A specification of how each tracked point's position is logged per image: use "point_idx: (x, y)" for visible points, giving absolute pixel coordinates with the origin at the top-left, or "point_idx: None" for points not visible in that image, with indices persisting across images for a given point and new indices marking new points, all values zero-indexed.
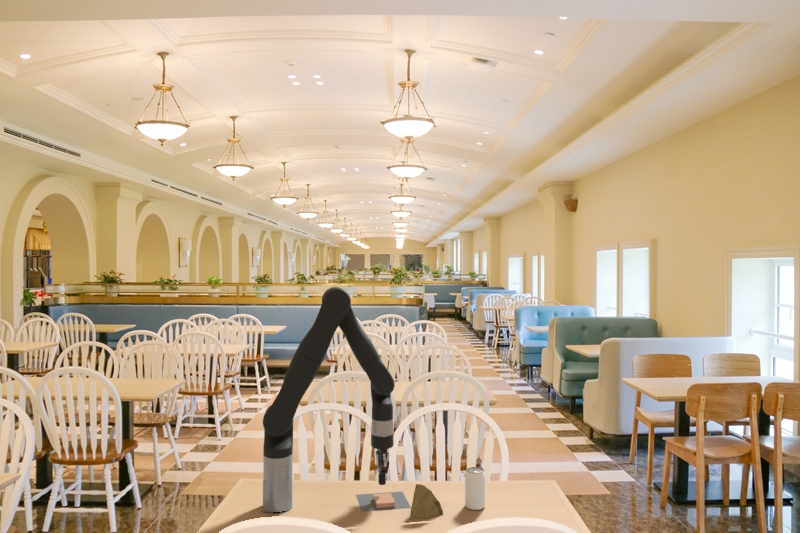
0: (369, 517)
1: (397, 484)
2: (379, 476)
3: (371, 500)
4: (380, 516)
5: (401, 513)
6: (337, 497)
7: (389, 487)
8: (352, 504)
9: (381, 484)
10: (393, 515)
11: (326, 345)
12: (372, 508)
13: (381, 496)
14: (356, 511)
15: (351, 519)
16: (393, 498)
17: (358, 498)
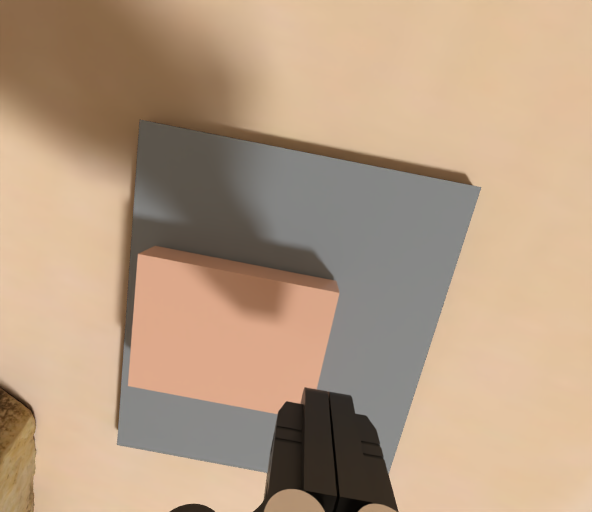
0: (68, 156)
1: (529, 509)
2: (305, 460)
3: (316, 261)
4: (68, 234)
5: (84, 369)
6: (536, 21)
7: (509, 452)
8: (336, 107)
9: (300, 405)
10: (66, 316)
11: None
12: (173, 219)
13: (268, 337)
14: (195, 95)
15: (60, 6)
16: None
17: (395, 179)
